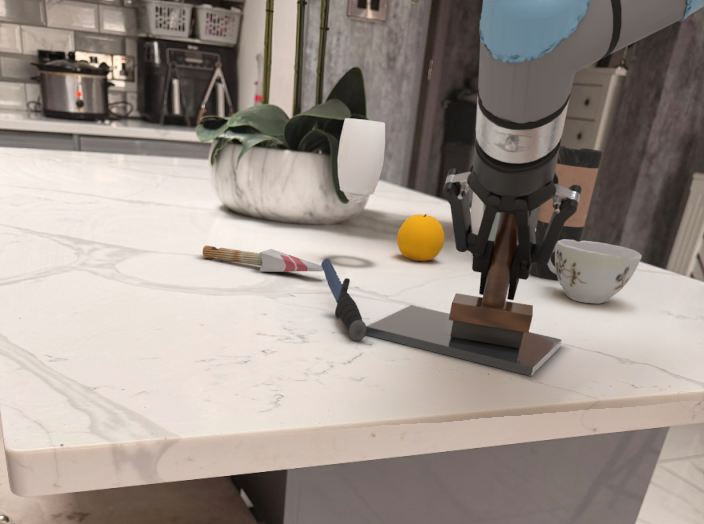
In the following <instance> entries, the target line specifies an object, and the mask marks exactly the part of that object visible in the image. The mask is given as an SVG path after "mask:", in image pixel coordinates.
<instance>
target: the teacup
mask: <svg viewBox="0 0 704 524" xmlns="http://www.w3.org/2000/svg"><path fill="white" fill-rule="evenodd" d="M554 251H555V267H554V265H553V264H552V262H551V257H550V260H549V262H548V267H549V269H550V270H551V271H552V272H553V273H555V274H556V275H557V277H558V280H557V281H558V283H559V284H560V286H561V289H562V290H563V291H564V293H565V295H566V297H567V298H568V299H570V300H572V301H576V302H580V303H584V304H598V305H599V304H605V303H606V302H607V301H608V300H609V299H610V298H612V297H613V296H615V295H616V294H617V293H618V292H620V291H621V290H622V289H623V288H624V287H625V286H626V285H627V284H628V283H629V281H630V280H631V279H632V278H633V275H634V274H635V272H636V270H637V268H638V266H639V264H640V262H641V260H642V257H643V256H642V254H641V253H640V252H639V251H637V250H635V249H632V248H628V247H625V246H620V245H617V244H610V243H606V242H599V241H591V240H590V241H589V240H580V242H577V241H574V240H566V239H562V240H560V241H558V242H557V243H556V245H555V248H554V250H553V252H554Z"/></svg>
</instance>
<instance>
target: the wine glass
mask: <svg viewBox="0 0 704 524" xmlns="http://www.w3.org/2000/svg"><path fill="white" fill-rule="evenodd" d="M385 149H386V123H385V122H383V121H376V120H370V119H361V118H360V119H359V118H351V117H348V118H347V117H346V118H344V122H343V125H342V129H341V133H340V138H339V145H338V152H337V159H336V160H337V178H338V184H339V190H340V191H341V192H343V195H344V196H345V197H346V199H347V200H348V201H350V202H352V203H353V204H355V205H356V204H359V203H362V202H365V201H366V200H367V199H368V198H369V197H370V196H371V195H374V193H375V191H376V189H377V186H378V184H379V182H380V177H381V174H382V171H383V167H384V161H385Z"/></svg>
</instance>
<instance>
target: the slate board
mask: <svg viewBox="0 0 704 524" xmlns="http://www.w3.org/2000/svg"><path fill="white" fill-rule="evenodd" d="M449 315H450V313H447V312H443V311H439V310H436V309H435V310H434V309H430V308H426V307H422V306H417V305H412V304H411V305H408V306H407V307H404V308H402V309H400V310H397V311H395V312H393V313H392V314H389V315H387V316H385V317H383V318H381V319H379V320H377V321H374V322H372V323H370V324H367V325H366V333H365V336H368V337H373V338H377V339H380V340H384V341H388V342H393V343H395V344H396V343H397V344H400V345H404V346H409V347H411V348H417V349H421V350H425V351H429V352H432V353H436V354H439V355H445V356H448V357H453V358H457V359H461V360H465V361H469V362H472V363H476V364H480V365H484V366H489V367H493V368H496V369H501V370H505V371H509V372H512V373H516V374H520V375H524V376H529V377H532V376H533V375H534V374H535V373H536V372H537V371H538V370H539V369H540V368H541V367H542V366H543V365H544V364H545V363H546V362H547V361H548V360H549V359H550V358H551V357H552V356H553V355H554V354H555V353H557V351H558V350H559V349H560V348H561V345H562V341H563V339H561V338H557V337H552V336H548V335H544V334H540V333H535V332H531V331H529V333H525V332H524V334H523V338H522V342H521V347H520V348H514V347H508V346H502V345H496V344H490V343H484V342H479V341H473V340H467V339H461V338H455V337H450V335H451V330H452V325H453V321H452V320H449Z"/></svg>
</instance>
